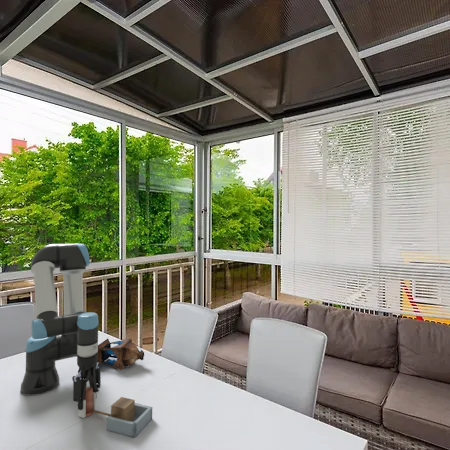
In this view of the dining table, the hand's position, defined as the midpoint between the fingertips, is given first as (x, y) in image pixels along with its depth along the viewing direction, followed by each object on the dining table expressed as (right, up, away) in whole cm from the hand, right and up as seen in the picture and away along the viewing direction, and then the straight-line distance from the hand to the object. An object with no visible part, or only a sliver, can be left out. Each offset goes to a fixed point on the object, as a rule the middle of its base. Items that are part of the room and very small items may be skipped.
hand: (87, 412), depth 123 cm
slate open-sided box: (+19, -1, -6) cm, 20 cm away
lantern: (-1, 0, +41) cm, 41 cm away
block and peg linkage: (+8, 0, -3) cm, 9 cm away
